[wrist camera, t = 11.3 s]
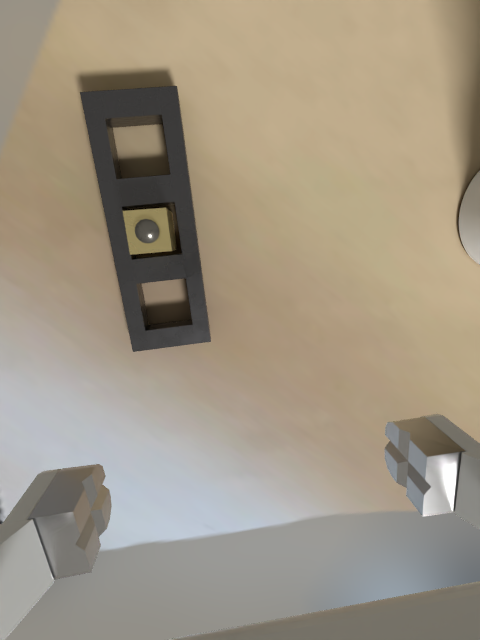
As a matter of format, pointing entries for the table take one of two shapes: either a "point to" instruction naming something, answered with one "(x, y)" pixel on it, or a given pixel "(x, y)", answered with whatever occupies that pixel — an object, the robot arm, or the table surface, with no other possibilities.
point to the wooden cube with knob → (150, 230)
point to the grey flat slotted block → (147, 192)
